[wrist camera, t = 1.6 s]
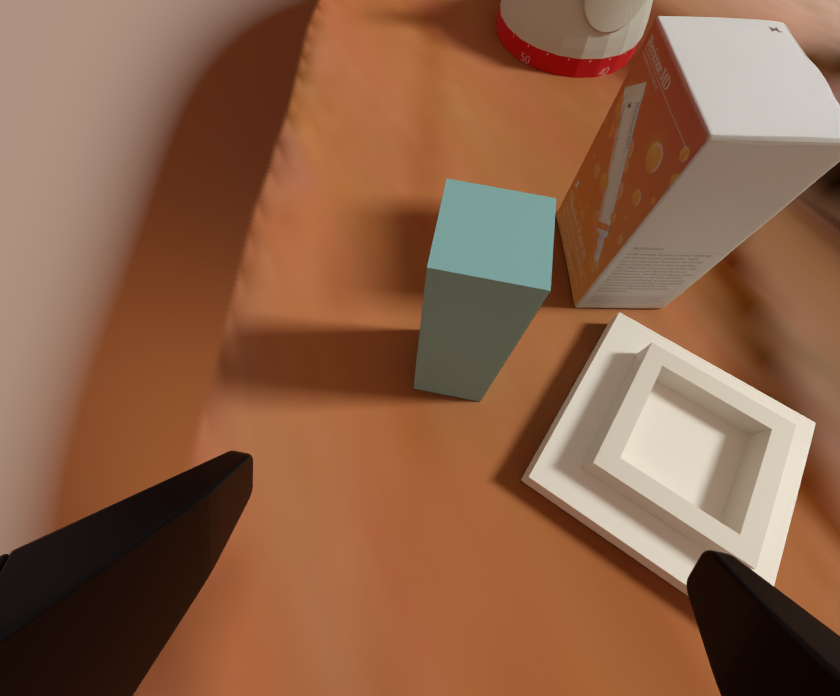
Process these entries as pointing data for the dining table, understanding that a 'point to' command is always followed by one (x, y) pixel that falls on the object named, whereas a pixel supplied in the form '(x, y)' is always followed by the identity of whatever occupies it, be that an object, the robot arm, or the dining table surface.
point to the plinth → (673, 457)
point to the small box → (694, 158)
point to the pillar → (481, 285)
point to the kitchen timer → (573, 33)
